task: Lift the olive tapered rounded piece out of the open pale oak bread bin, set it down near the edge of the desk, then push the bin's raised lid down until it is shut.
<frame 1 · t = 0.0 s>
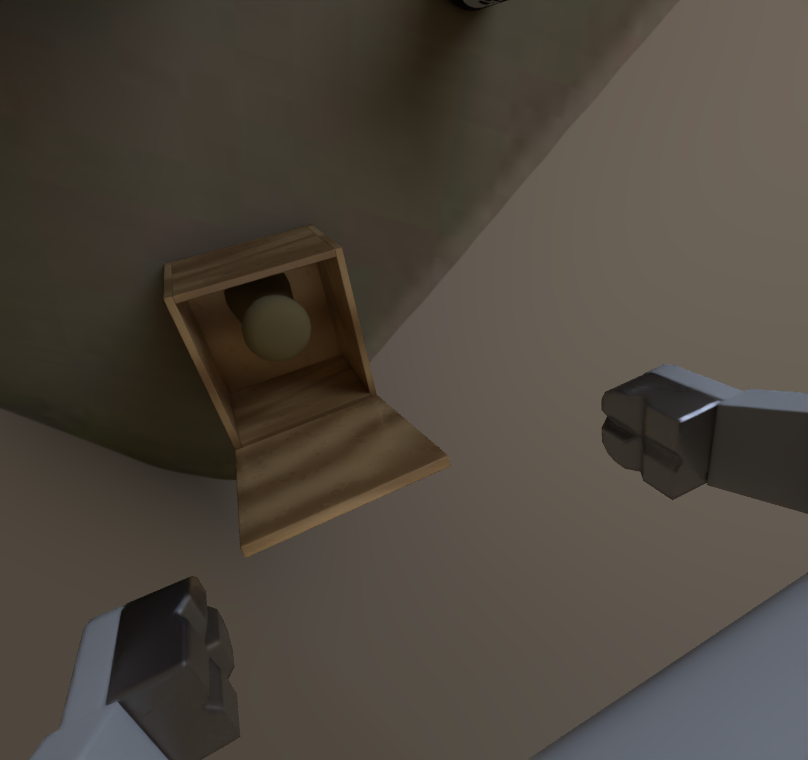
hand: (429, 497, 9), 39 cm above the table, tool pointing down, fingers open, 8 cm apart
olive tapered rounded piece: (258, 292, 44), resting on bread bin
bin lid: (327, 457, 35), point 17 cm above the table, hinge at 75.0°
bread bin: (266, 314, 45), on the table
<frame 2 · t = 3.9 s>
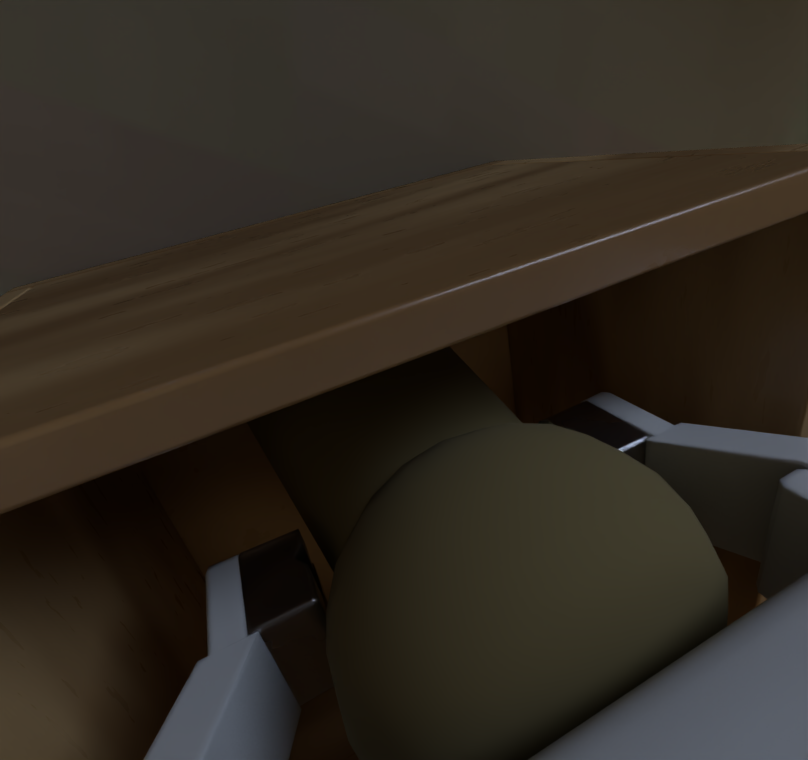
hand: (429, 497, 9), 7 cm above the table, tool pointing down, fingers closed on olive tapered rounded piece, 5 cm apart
olive tapered rounded piece: (336, 370, 14), resting on bread bin, touching gripper
bread bin: (352, 430, 16), on the table
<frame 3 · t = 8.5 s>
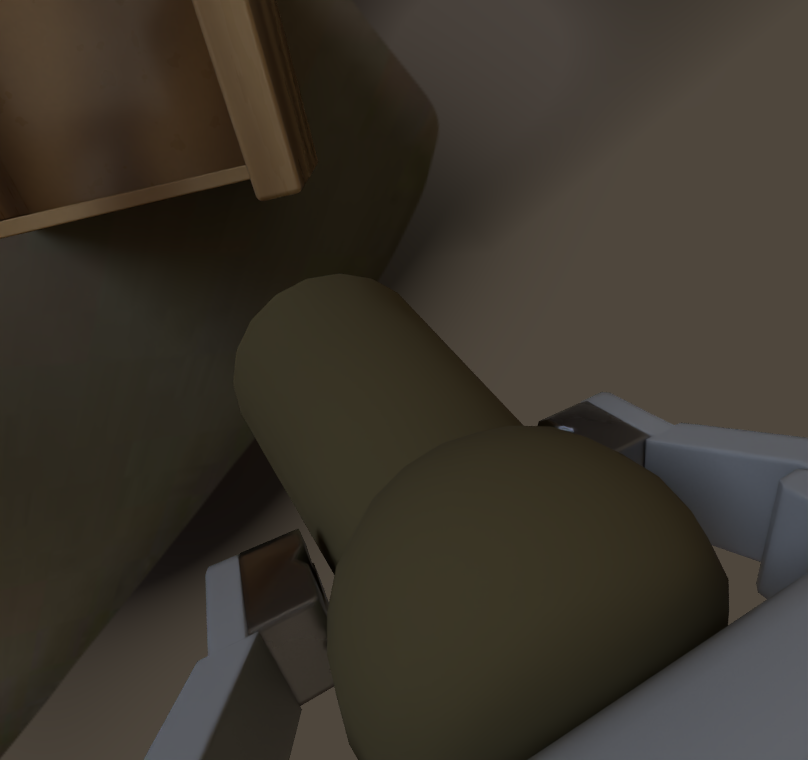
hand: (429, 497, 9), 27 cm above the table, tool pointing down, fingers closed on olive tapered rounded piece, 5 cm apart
olive tapered rounded piece: (336, 371, 14), point 20 cm above the table, touching gripper
bread bin: (105, 66, 25), on the table
when the fingers open (6 cm above the table, at t = 13.4 s): olive tapered rounded piece stays where it is, on the table.
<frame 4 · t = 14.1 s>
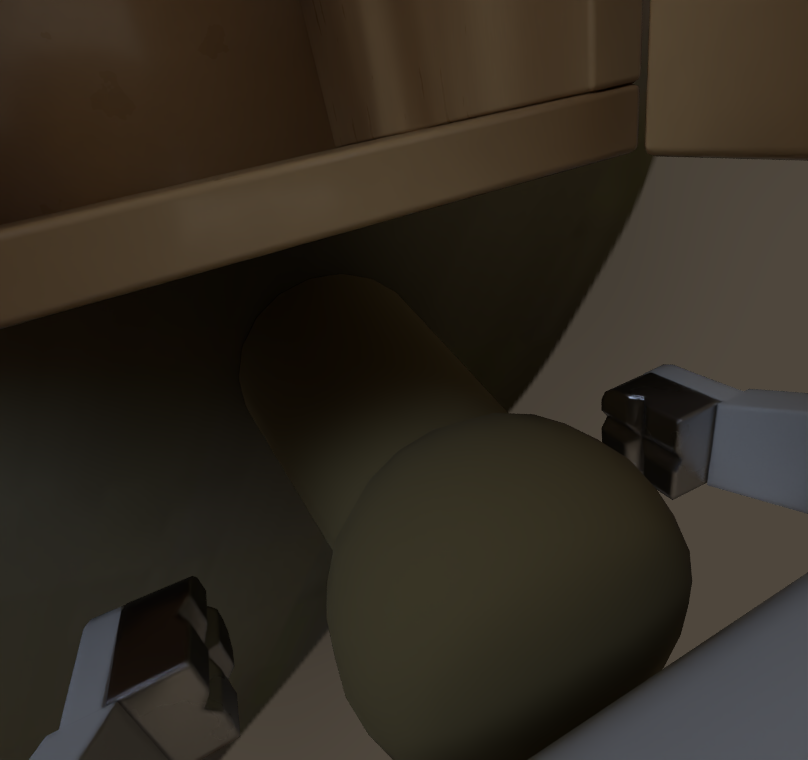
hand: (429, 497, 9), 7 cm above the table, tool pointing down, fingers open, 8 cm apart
olive tapered rounded piece: (337, 368, 15), on the table
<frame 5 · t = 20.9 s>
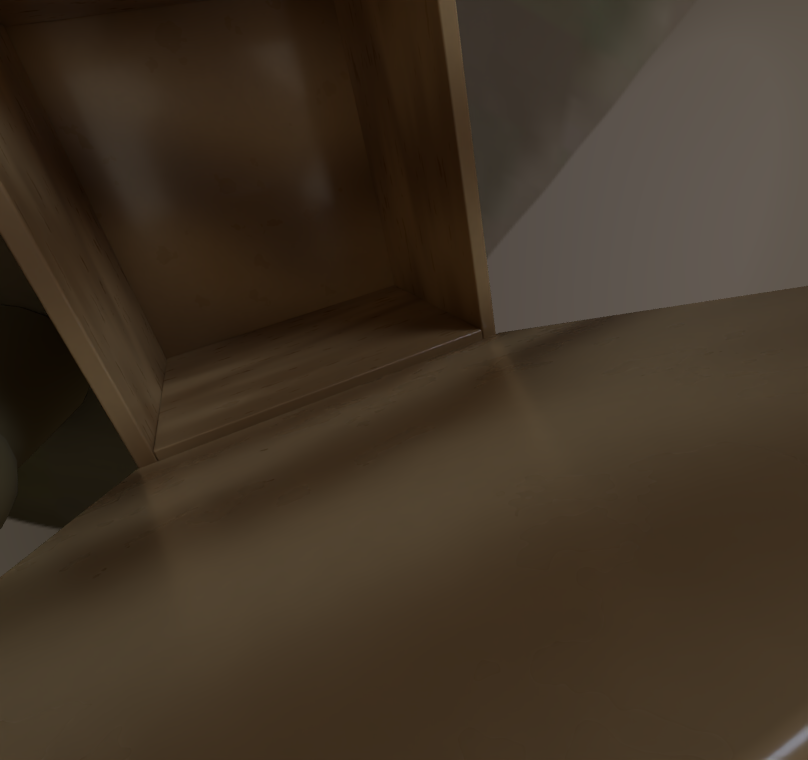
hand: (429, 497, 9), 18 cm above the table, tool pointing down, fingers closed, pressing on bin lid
olive tapered rounded piece: (10, 370, 21), on the table
bin lid: (402, 433, 9), point 17 cm above the table, hinge at 68.7°, touching gripper
bread bin: (241, 184, 21), on the table
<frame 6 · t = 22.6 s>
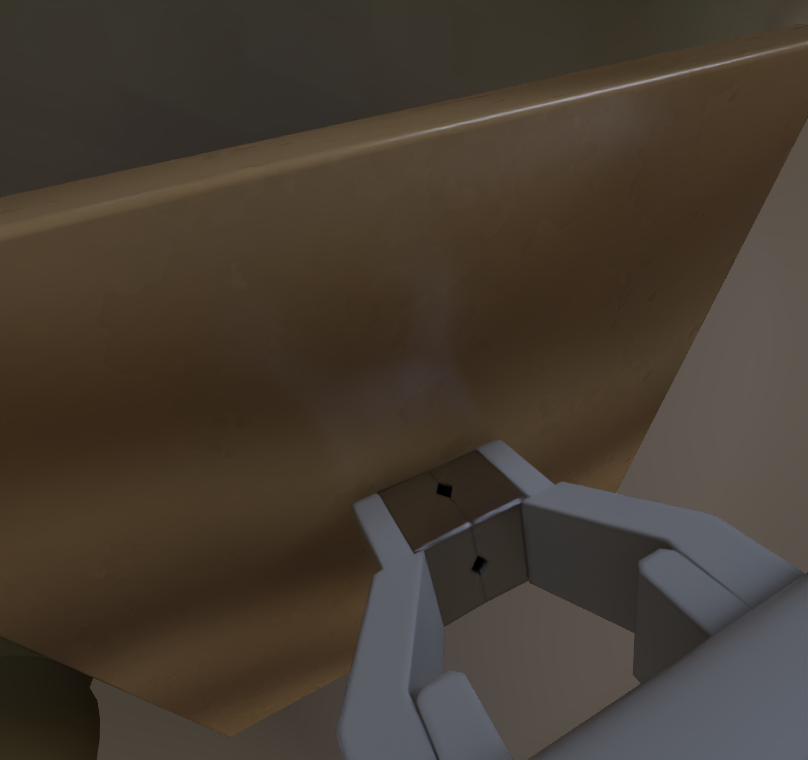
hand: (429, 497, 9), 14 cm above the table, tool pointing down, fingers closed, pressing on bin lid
olive tapered rounded piece: (64, 531, 20), on the table
bin lid: (416, 502, 10), point 12 cm above the table, hinge at 18.9°, touching gripper
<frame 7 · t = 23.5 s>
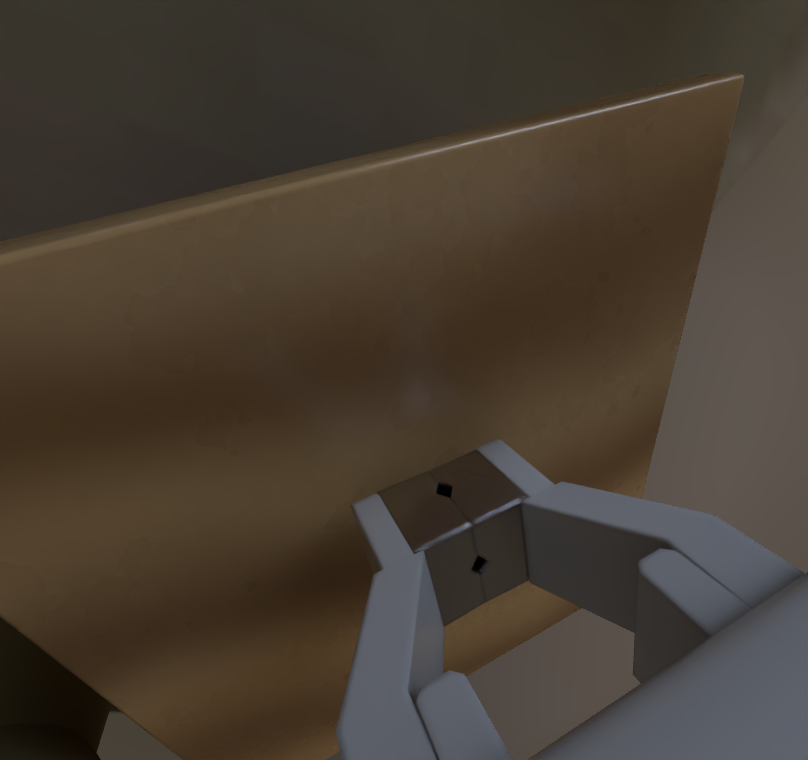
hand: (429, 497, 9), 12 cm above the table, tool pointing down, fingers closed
olive tapered rounded piece: (70, 572, 19), on the table
bin lid: (420, 524, 10), point 11 cm above the table, hinge at 9.0°
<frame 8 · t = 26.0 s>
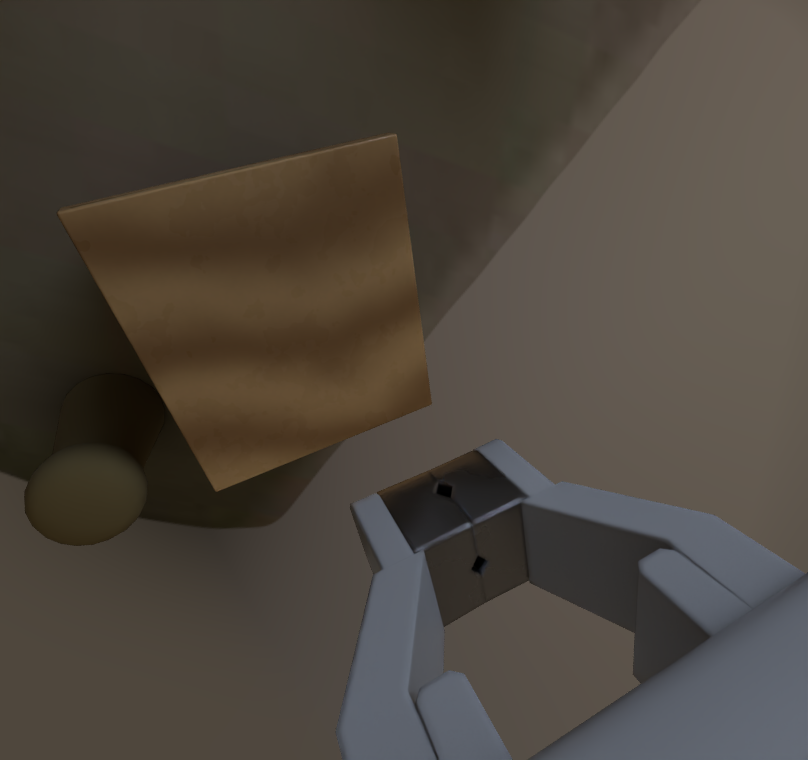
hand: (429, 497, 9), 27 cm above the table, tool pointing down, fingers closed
olive tapered rounded piece: (115, 414, 32), on the table
bin lid: (293, 331, 23), point 11 cm above the table, hinge at 9.0°
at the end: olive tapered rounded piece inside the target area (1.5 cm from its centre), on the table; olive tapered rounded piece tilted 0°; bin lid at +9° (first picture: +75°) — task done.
